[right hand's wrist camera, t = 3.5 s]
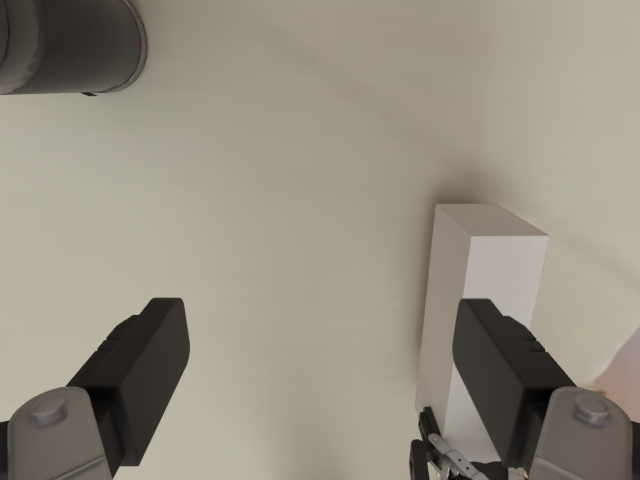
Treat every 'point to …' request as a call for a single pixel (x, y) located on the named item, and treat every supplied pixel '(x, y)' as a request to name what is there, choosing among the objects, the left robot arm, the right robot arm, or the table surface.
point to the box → (472, 282)
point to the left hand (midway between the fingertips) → (457, 412)
